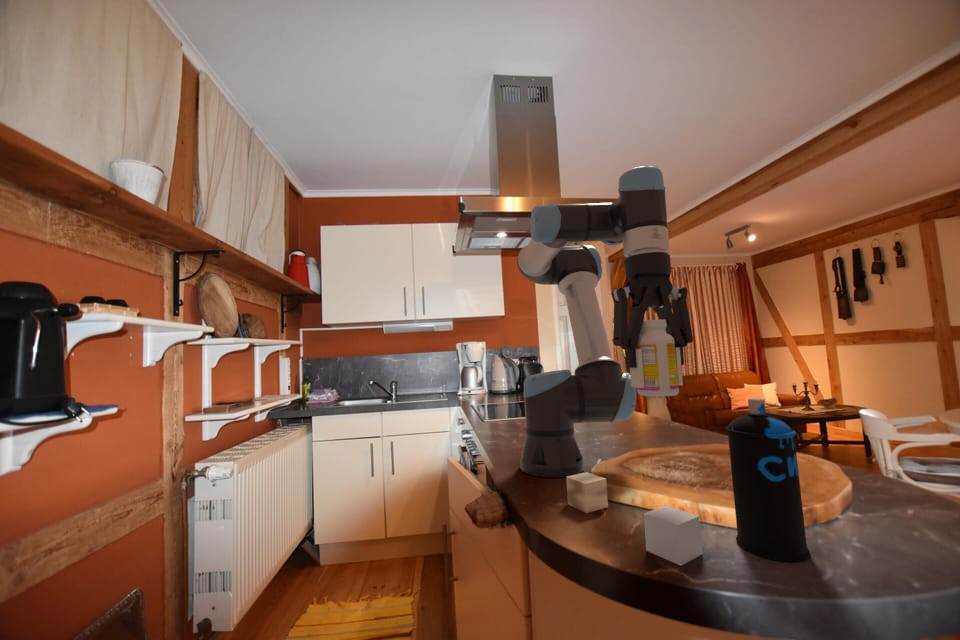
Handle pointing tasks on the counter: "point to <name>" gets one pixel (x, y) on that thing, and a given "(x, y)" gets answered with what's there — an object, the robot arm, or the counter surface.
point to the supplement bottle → (658, 360)
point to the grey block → (673, 534)
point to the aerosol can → (766, 486)
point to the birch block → (587, 492)
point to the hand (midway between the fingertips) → (656, 385)
